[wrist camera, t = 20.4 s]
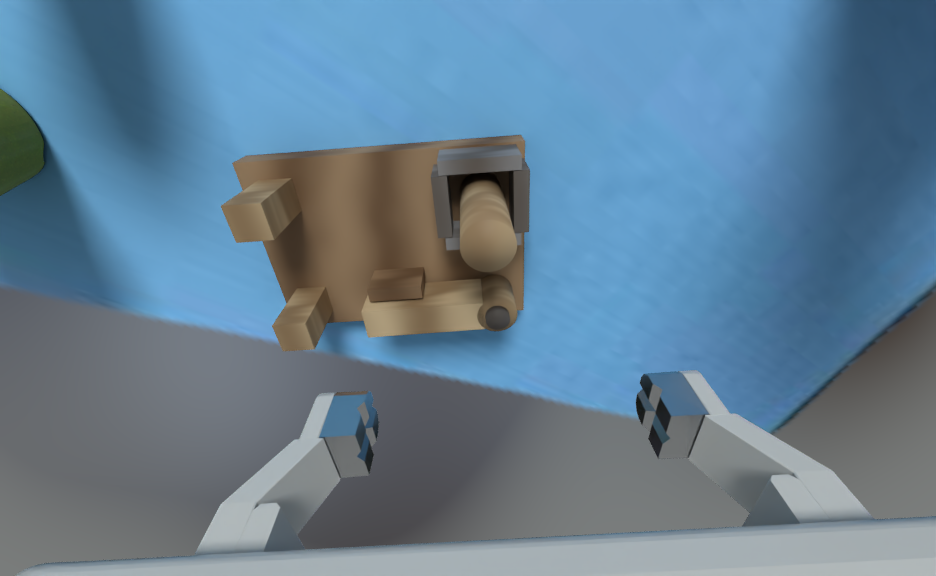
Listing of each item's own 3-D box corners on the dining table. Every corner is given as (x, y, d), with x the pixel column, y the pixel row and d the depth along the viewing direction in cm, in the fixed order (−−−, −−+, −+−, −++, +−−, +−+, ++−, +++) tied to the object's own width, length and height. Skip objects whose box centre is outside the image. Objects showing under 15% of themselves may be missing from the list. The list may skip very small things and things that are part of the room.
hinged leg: (511, 273, 31) (518, 302, 28) (512, 303, 33) (518, 334, 29) (369, 283, 32) (358, 313, 28) (377, 313, 33) (367, 345, 30)
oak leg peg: (500, 168, 27) (517, 218, 20) (502, 209, 29) (517, 269, 21) (458, 172, 27) (457, 222, 20) (461, 212, 29) (462, 274, 21)
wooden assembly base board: (520, 134, 28) (537, 160, 22) (520, 297, 35) (532, 348, 29) (245, 155, 28) (189, 186, 22) (302, 311, 36) (271, 365, 30)
